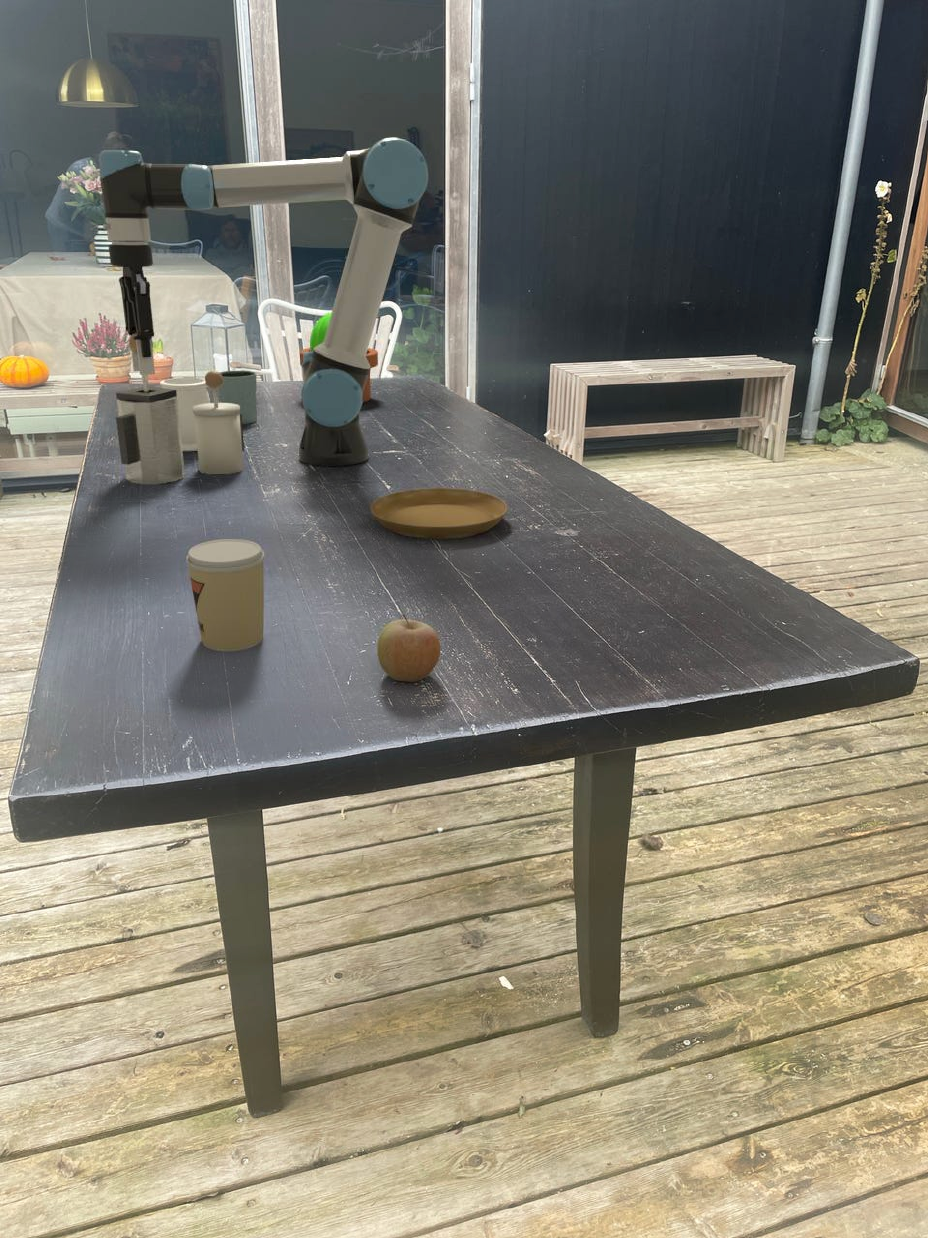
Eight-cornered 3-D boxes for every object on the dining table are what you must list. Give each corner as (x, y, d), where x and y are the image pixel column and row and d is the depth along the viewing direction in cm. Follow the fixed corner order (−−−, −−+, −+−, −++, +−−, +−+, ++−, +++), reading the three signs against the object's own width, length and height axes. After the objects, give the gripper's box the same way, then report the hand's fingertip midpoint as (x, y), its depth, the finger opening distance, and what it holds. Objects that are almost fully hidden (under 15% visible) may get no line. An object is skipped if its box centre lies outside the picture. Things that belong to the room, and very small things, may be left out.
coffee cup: (201, 625, 126) (192, 538, 121) (273, 623, 126) (267, 537, 122) (188, 655, 117) (179, 563, 112) (265, 653, 118) (259, 562, 113)
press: (195, 473, 196) (187, 389, 189) (150, 490, 184) (139, 400, 178) (152, 467, 200) (142, 384, 193) (105, 483, 188) (93, 395, 182)
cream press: (260, 464, 204) (253, 367, 196) (226, 477, 194) (218, 375, 186) (224, 459, 208) (216, 364, 200) (189, 471, 198) (179, 371, 190)
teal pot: (267, 420, 247) (264, 372, 242) (239, 426, 239) (235, 377, 234) (239, 415, 252) (235, 368, 247) (210, 421, 244) (206, 373, 239)
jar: (201, 454, 212) (195, 385, 206) (158, 451, 213) (151, 383, 208) (222, 444, 221) (216, 378, 215) (180, 441, 223) (174, 376, 217)
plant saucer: (346, 533, 163) (345, 515, 162) (405, 498, 184) (405, 481, 182) (478, 553, 155) (478, 533, 154) (524, 513, 176) (525, 496, 174)
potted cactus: (303, 392, 284) (299, 304, 274) (377, 392, 286) (376, 305, 276) (300, 407, 264) (295, 312, 254) (379, 406, 266) (378, 313, 256)
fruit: (365, 683, 111) (364, 620, 108) (392, 658, 117) (391, 598, 114) (425, 695, 109) (426, 631, 105) (449, 669, 115) (450, 608, 112)
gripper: (98, 241, 181) (114, 367, 190) (119, 245, 167) (135, 380, 177) (138, 241, 185) (152, 364, 194) (162, 245, 171) (175, 377, 180)
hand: (144, 372), depth 185 cm, fingers closed on plunger, 4 cm apart
